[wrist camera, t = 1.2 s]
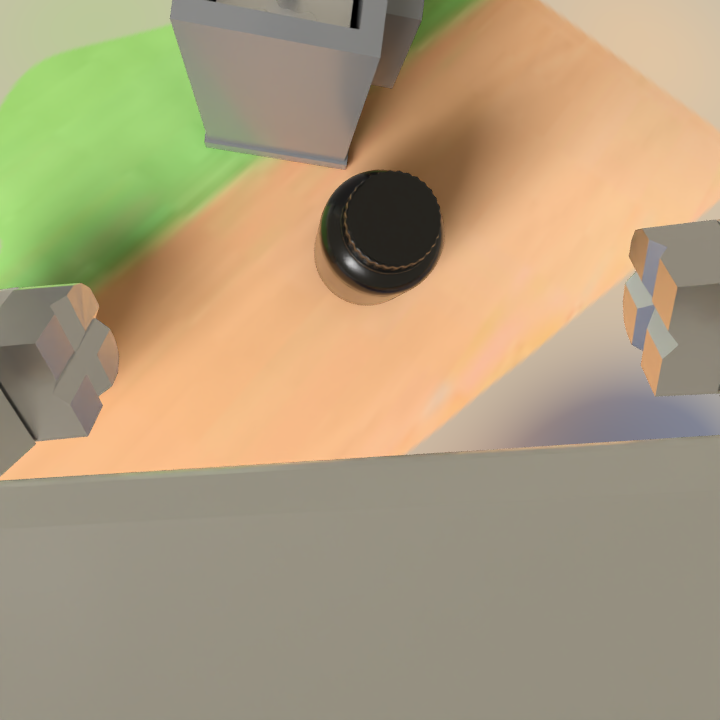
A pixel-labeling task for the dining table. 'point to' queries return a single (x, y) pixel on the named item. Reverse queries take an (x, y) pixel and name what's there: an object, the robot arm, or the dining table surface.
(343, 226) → the supplement bottle
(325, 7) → the dark cylinder rod
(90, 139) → the dining table surface
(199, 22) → the gray open square box
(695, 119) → the dining table surface
